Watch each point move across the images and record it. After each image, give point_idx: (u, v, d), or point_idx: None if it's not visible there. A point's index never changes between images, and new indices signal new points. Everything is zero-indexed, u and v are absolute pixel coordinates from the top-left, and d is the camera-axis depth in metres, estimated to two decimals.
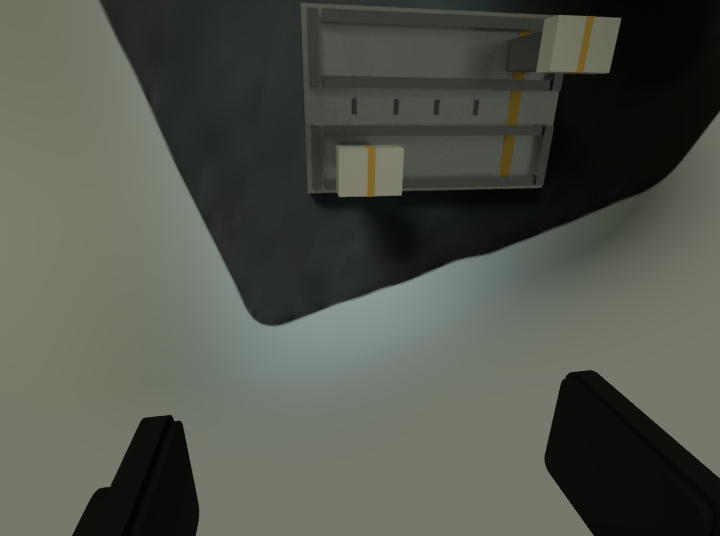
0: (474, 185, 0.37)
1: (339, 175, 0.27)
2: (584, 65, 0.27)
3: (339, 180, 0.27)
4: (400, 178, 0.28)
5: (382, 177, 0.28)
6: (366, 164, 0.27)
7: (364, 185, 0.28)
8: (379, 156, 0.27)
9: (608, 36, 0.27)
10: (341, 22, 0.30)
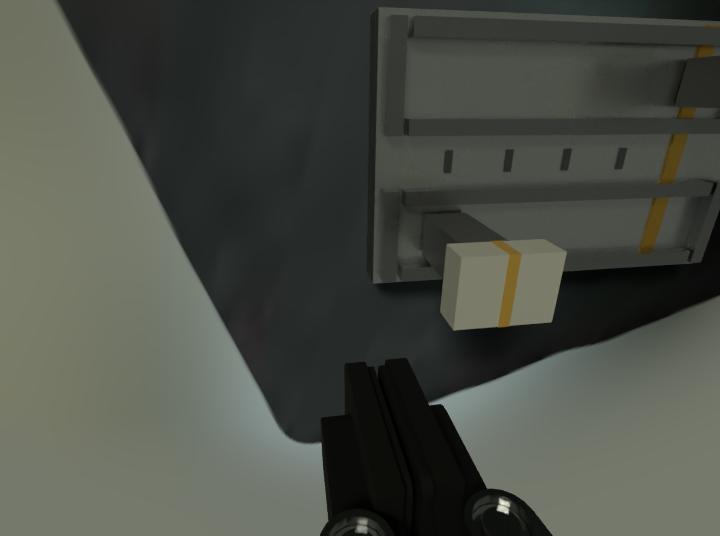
0: (608, 266, 0.25)
1: (457, 298, 0.16)
2: None
3: (456, 305, 0.16)
4: (553, 297, 0.17)
5: (525, 297, 0.17)
6: (503, 280, 0.16)
7: (495, 311, 0.17)
8: (525, 267, 0.16)
9: None
10: (441, 37, 0.19)
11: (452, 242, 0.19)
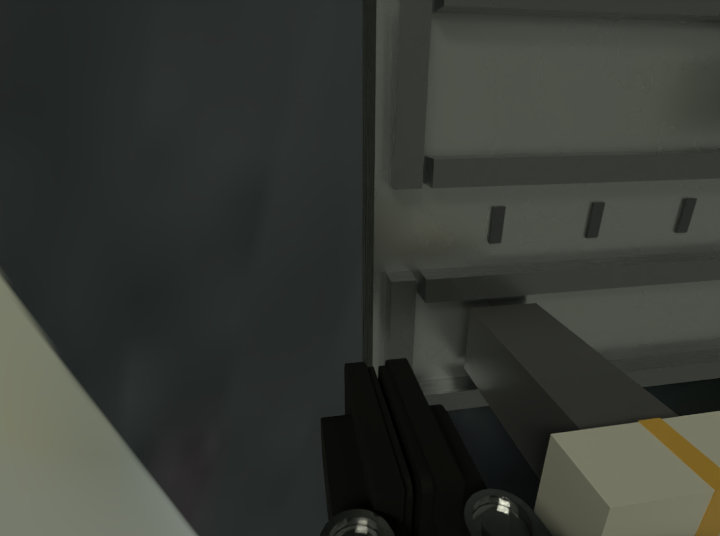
0: None
1: None
2: None
3: None
4: None
5: None
6: (691, 534, 0.07)
7: None
8: None
9: None
10: (493, 10, 0.10)
11: (540, 393, 0.10)
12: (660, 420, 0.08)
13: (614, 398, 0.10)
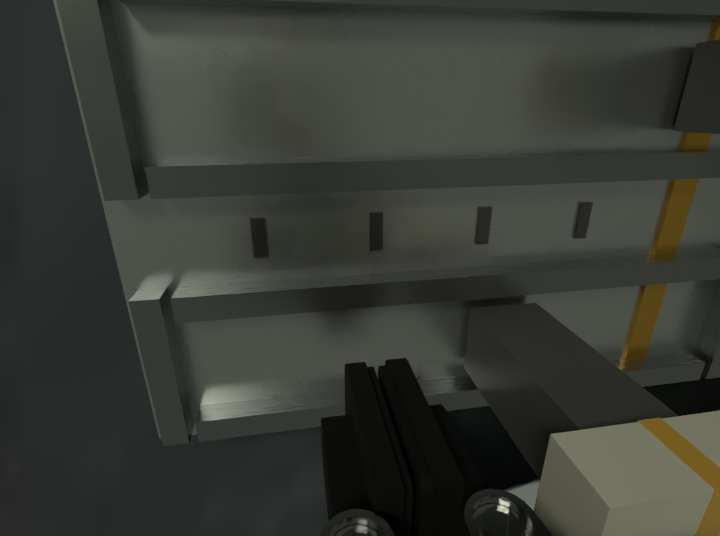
0: None
1: None
2: None
3: None
4: None
5: None
6: (691, 534, 0.07)
7: None
8: None
9: None
10: (186, 1, 0.09)
11: (539, 393, 0.10)
12: (660, 420, 0.08)
13: (614, 398, 0.10)
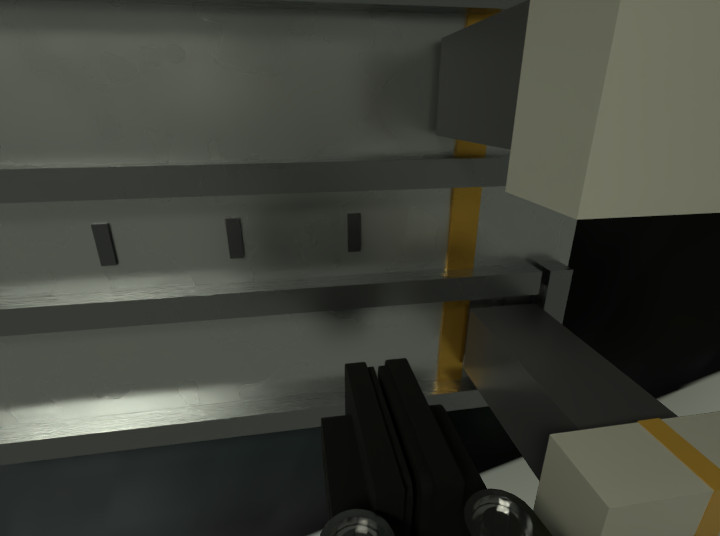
0: None
1: None
2: None
3: None
4: None
5: None
6: (690, 535, 0.07)
7: None
8: None
9: None
10: None
11: (539, 393, 0.10)
12: (659, 420, 0.08)
13: (613, 398, 0.10)
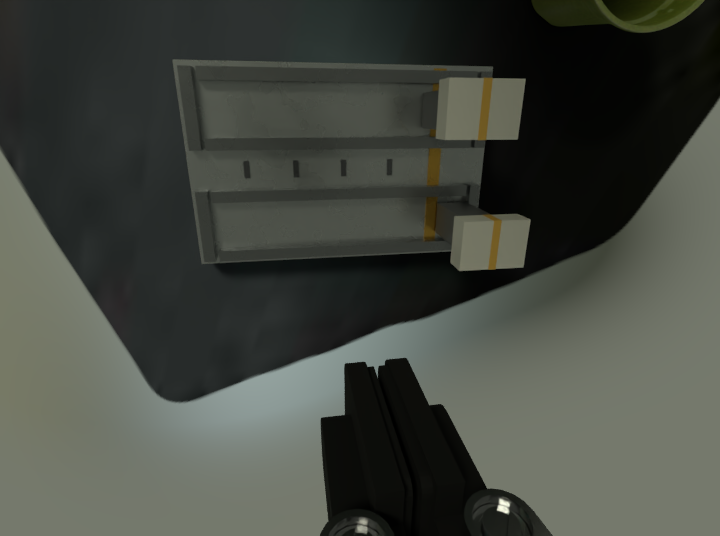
0: (393, 251, 0.32)
1: (461, 249, 0.26)
2: (486, 132, 0.23)
3: (461, 254, 0.26)
4: (523, 250, 0.26)
5: (505, 249, 0.26)
6: (490, 237, 0.26)
7: (486, 258, 0.26)
8: (504, 229, 0.25)
9: (512, 99, 0.23)
10: (221, 80, 0.27)
11: None
12: (489, 214, 0.27)
13: None
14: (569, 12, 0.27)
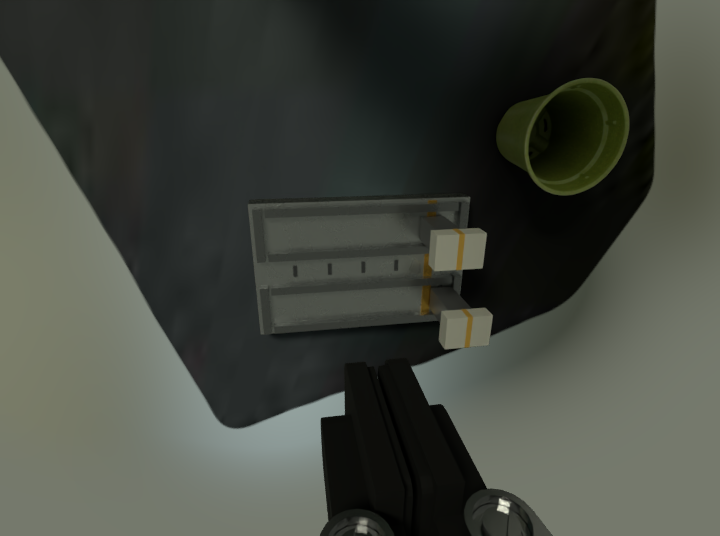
0: (398, 322, 0.45)
1: (446, 335, 0.38)
2: (461, 265, 0.35)
3: (445, 338, 0.38)
4: (488, 334, 0.38)
5: (476, 335, 0.38)
6: (465, 327, 0.38)
7: (463, 340, 0.38)
8: (475, 322, 0.38)
9: (478, 245, 0.35)
10: None
11: (444, 307, 0.40)
12: (465, 309, 0.39)
13: (460, 307, 0.40)
14: (522, 167, 0.39)
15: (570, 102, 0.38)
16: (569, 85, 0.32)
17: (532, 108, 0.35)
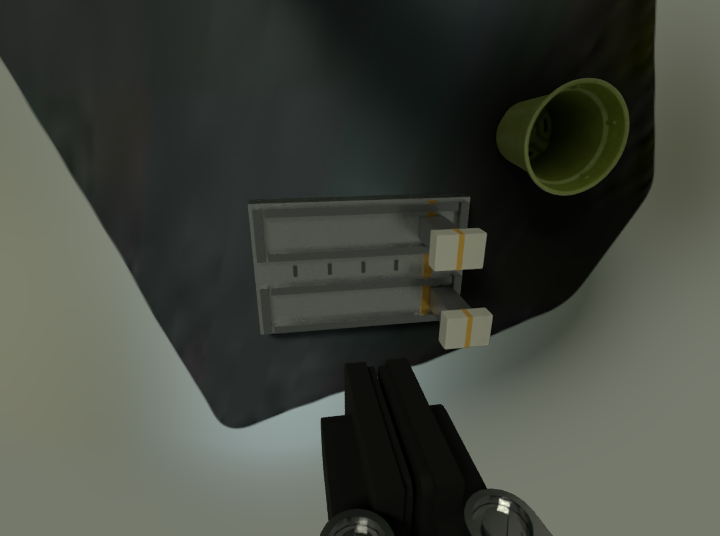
0: (398, 322, 0.45)
1: (446, 335, 0.38)
2: (461, 265, 0.35)
3: (445, 338, 0.38)
4: (488, 334, 0.38)
5: (476, 334, 0.38)
6: (465, 327, 0.38)
7: (463, 340, 0.38)
8: (475, 322, 0.38)
9: (478, 245, 0.35)
10: None
11: (444, 307, 0.40)
12: (465, 309, 0.39)
13: (460, 307, 0.40)
14: (522, 167, 0.39)
15: (570, 102, 0.38)
16: (569, 85, 0.32)
17: (532, 108, 0.35)
